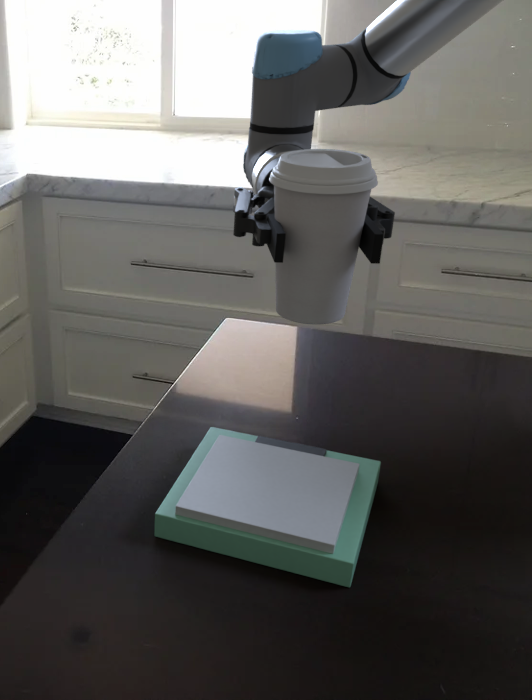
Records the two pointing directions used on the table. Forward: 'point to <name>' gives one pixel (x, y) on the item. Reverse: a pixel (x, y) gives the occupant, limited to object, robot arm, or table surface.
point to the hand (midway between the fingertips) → (328, 248)
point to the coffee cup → (319, 230)
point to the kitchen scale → (272, 504)
